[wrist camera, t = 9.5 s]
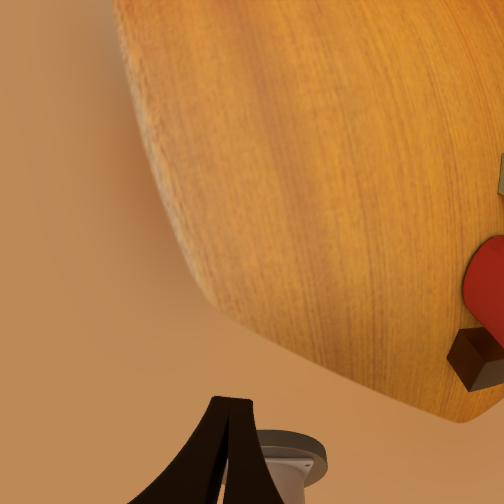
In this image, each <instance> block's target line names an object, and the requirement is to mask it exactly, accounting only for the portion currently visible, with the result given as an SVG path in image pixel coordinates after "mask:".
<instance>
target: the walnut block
mask: <svg viewBox="0 0 504 504" xmlns="http://www.w3.org/2000/svg"><path fill="white" fill-rule="evenodd" d="M447 360H448V361H449V363H450V364H451V366H452V367H453V369H454V370H455V372H456V373H457V375H458V376H459V378H460V380H461V381H462V383H463V384H464V386H465V387H466V389H467V391H468V392H473V391H477V390H481V389H485V388H488V387H492V386H496V385H499V384H502V383H504V348H503V347H502V346H501V345H500V344H499V343H498V341H497V340H496V339H495V338H494V337H493V336H492V335H491V334H490V333H489V332H488V330H487V329H486V328H473V329H461V330H459V332H458V334H457V337H456V339H455V341H454V343H453V346H452V348H451V350H450V352H449V354H448V356H447Z"/></svg>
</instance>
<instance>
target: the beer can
mask: <svg viewBox="0 0 504 504" xmlns="http://www.w3.org/2000/svg"><path fill="white" fill-rule="evenodd" d="M463 296H464V301H465V305H466V307H467V308H468V310H469V311H470V313H471V314H472V315H473V316H474V317H475V318H476V319H477V320H478V321H479V322H480V323H481V324H482V325H483V326H484V327H485V328H486V329H487V330H488V332H489V333H490V334H491V335H492V336H493V337H494V338H495V339H496V340H497V341H498V343H499V344H500V345H501V346H502V347H503V348H504V236H503V235H500V236H497V237H494V238H491V239H490V240H488V241H487V242H486V243H485V244H483V245H482V246H481V247H480V248H479V250H478V251H477V252H476V254H475V255H474V256H473V258H472V260H471V262H470V264H469V266H468V268H467V272H466V275H465V279H464V287H463Z"/></svg>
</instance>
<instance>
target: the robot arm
mask: <svg viewBox="0 0 504 504" xmlns="http://www.w3.org/2000/svg"><path fill="white" fill-rule="evenodd" d="M226 463H227V479H226V485H225V493H224V499H223V504H305V498H304V481H305V479H306V477H307V475H308V473H309V471H310V469H311V467H312V465H313V463H314V459H313V458H269V457H264V456H263V453H262V449H261V446H260V443H259V439H258V435H257V431H256V427H255V421H254V414H253V401H252V400H250V399H241V398H230V397H221V396H214V397H212V398H211V401H210V404H209V405H208V408H207V410H206V412H205V414H204V416H203V417H202V419H201V421H200V423H199V424H198V426H197V427H196V429H195V430H194V432H193V434H192V435H191V437H190V438H189V440H188V441H187V443H186V444H185V445H184V447H183V448H182V449H181V451H180V452H179V453H178V455H177V456H176V457H175V458H174V460H173V461H172V462H171V463H170V464H169V465H168V467H167V468H166V469H165V470H164V471H163V472H162V473H161V474H160V475H159V476H158V477H157V478H156V479H155V480H154V481H153V482H152V483H151V484H150V485H149V486H148V487H147V488H146V489H145V490H144V491H142V492H141V493H140V494H139V495H138V496H137V497H135V498H134V499H133V500H132V501H130V502H129V503H127V504H217V501H218V496H219V492H220V488H221V484H222V480H223V476H224V472H225V468H226Z"/></svg>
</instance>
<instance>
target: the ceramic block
mask: <svg viewBox="0 0 504 504" xmlns="http://www.w3.org/2000/svg"><path fill="white" fill-rule="evenodd" d="M498 194H501V195H504V153H502V162H501V172H500V181H499V189H498Z"/></svg>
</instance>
